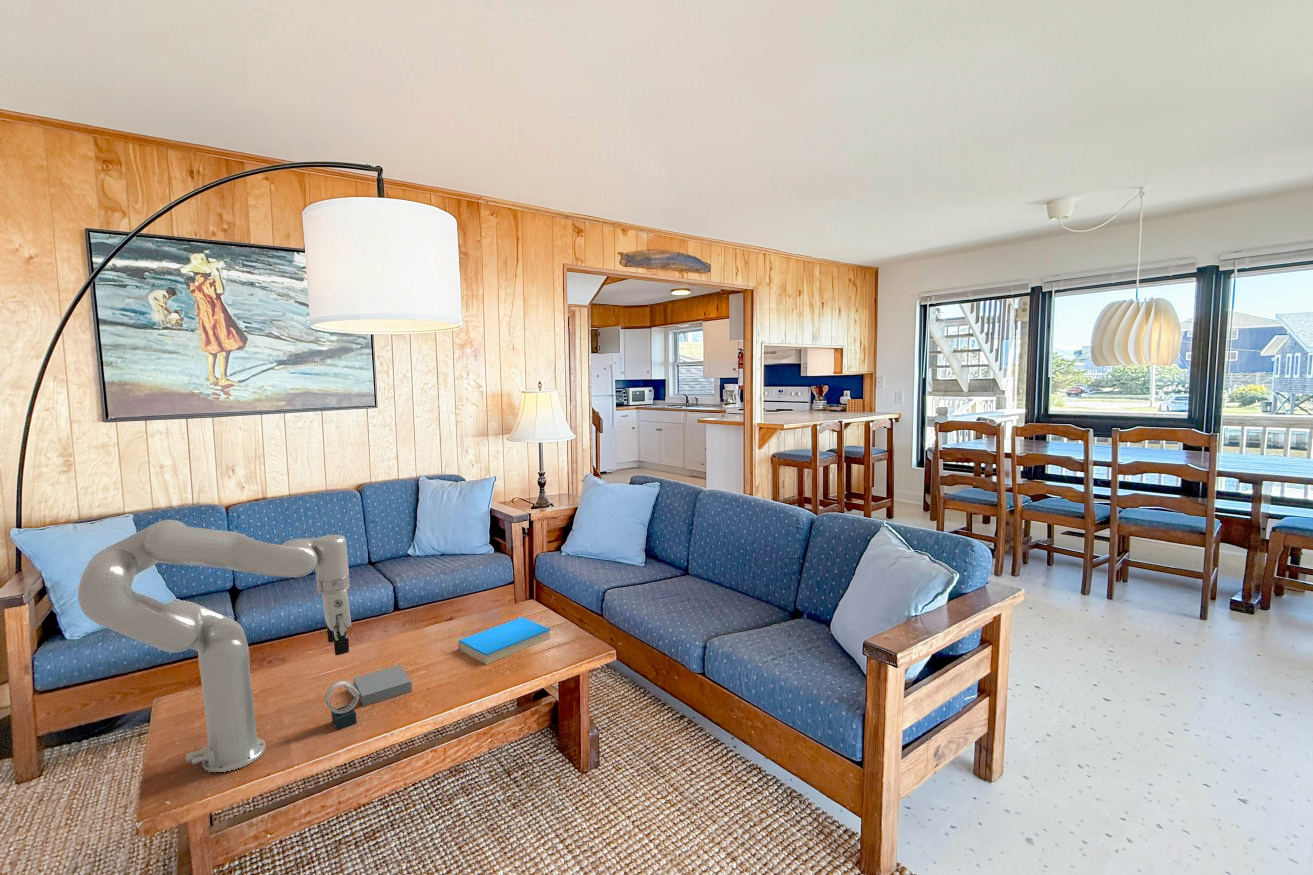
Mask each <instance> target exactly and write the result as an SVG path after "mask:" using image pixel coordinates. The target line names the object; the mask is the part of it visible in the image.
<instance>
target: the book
mask: <svg viewBox="0 0 1313 875" xmlns="http://www.w3.org/2000/svg"><path fill="white" fill-rule="evenodd" d="M550 639H551V628H550V627H547V626H545V625H542V624H540V623H537V622H535V621H533V620H531V619H528V618H525V617H523V616H522V617H518V618H516V619H514V620H511V621H508V622H506V623H505V622H504V623H502V624H499V625H496V626H494V627H490V628H488V629H486V630H482V631H481V632H480V631H479V632H477V633H475V634H472V635H469V636H466V637H464V638H461V639H458V649H459V651H460V652H463V653H464V654H466V655H468V656H470V657H472V658H473V659H475V660H476V661H479V662H480V663H481V664H482V663H483V664H484V665H488V664H491V663H493V662H496V661H499V660H501V659H504V658H506V657H508V655H509V656H511V655H513V654H516V653H518V652H520V651H523V650H525V649H527V648H530V646H531V647H532V646H535V645H537V644H540V643H542V642H545V641H548V640H550ZM503 657H504V658H503ZM498 659H499V660H498Z"/></svg>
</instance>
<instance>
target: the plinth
mask: <svg viewBox="0 0 1313 875" xmlns="http://www.w3.org/2000/svg"><path fill="white" fill-rule="evenodd" d="M402 667H403V666H401V665H400V664H398V665H395V666H391V667H388V668H385V669H381V670H376V671H374V672H371V673H367V674H363V675H359V676H356V677H353V679H352V682H353V686H354V687H355V688H356V689H357V690H358V692H359V693H360V694H358V695H359V701H360V704H361V705H362V707H366V706H370V705H373V704H377V703H380V702H382V701H386V700H389V699H393V698H395V697H398V696H403V695H405V694H408V693H412V692H413V686H412V685H413V684H412V680H411V679H410V677H409V676H408V674H407V672H406V671H405V670H404V669H403V668H402Z"/></svg>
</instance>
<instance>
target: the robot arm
mask: <svg viewBox="0 0 1313 875" xmlns="http://www.w3.org/2000/svg"><path fill="white" fill-rule="evenodd" d="M88 561H89V562H88V563H87V565H86V567H85V568H84V569H83V570H84V571H83V572H82V575H81V578H80V581H79V585H78V591H77V592H78V594H77V595H78V596H77V597H78V598H77V599H78V600H77V601H78V605H79V606H80V609H81V611H82V612H83V614H84V615H85V616H86V617H87V618H88V619H89V620H91V621H92V622H93V623H95V624H97V625H98V626H99V625H100V626H102V627H104V628H106V629H108V630H111V631H114V632H117V633H119V634H122V635H124V636H127V637H128V638H131V639H133V640H135V641H138V642H141V643H143V644H146V645H149V646H151V647H154V648H156V649H158V650H161V651H163V652H166V653H172V654H173V653H181V652H184V651H188V650H189V649H190V650H194V651H196V652H197V657H198V659H197V660H198V667H199V668H198V669H199V674H200V681H201V690H202V699H203V706H204V714H205V715H204V716H205V722H206V725H205V726H206V732H207V742H206V746H204V747H202V748H201V749H198V750H196V751H192V752H188V753H185V761H186V763H190V762H191V764H192V765H197V764H199V763H201V762H202V769H203V768H204V769H205V770H207V771H210V772H224V773H227V772H226V771H229V772H232V771H231V770H233V771H236V770H238V768H239V769H241V768H243V767H245V766H248V765H249V764H252V763H254V762H255V761H256V760H258V759H259V758H260V757H262V755H263V754H265V751H266V749H267V747H266V746H267V745H266V741H265V740H264V739H262V738H259V737H258V733H257V723H256V714H255V704H254V695H253V687H252V679H251V676H252V675H251V663H250V662H251V661H250V659H251V658H250V649H249V644H248V640H247V637H246V634H245V631H244V628H243V627H242V625H241V624H240V623H239V622H238V621H236V620H234V619H233V618H230V617H229V616H226V615H224V614H221V613H220V612H219V613H218V612H217V611H214V610H211V609H209V608H207V607H205V606H203V605H200V604H198V603H196V602H193V601H190V600H181V599H180V600H178V599H177V600H173V601H169V602H167V603H164V602H161V601H159V600H157V599H155V598H153V597H150V596H148V595H144V594H141V593H137V592H136V591H134V590H133V588H132V583H133V581H134V579H135V577H136V575H138V574H140V573H142V572H144V571H145V570H147V569H149V568H152V567H153V566H154V565H157V564H159V563H161V564H167V565H168V564H169V565H180V566H183V565H184V566H192V567H193V566H195V567H206V568H217V569H218V568H219V569H220V568H221V569H227V570H232V571H235V572H243V573H249V574H253V575H254V574H255V575H258V576H259V575H260V576H267V577H278V578H279V577H281V578H294V579H295V578H303V577H305V576H308V575H309V574H312V572H314V570H315V580H316V592H317V593H318V594H320V595H322V606H323V616H324V620H325V624H326V626H327V627H326V632H327V642H328V643H329V644H330V643H333V644H334V645H333V646H334V655H335V656H339V655H344V654H348V653H350V644H349V636H348V632H347V628H351V626H352V620H351V617H352V616H351V610H350V601H349V597H348V596H349V595H348V590H349V588H350V586H351V583H350V582H351V581H350V570H349V557H348V545H347V538H346V537H345V536H343V535H341V534H328V535H323V536H319V537H310V538H293V539H289V540H287V541H285V542H284V543H282V544H275V543H270V542H266V541H260V540H257V539H254V538H252V537H249V536H247V535H245V534H243V533H240V532H236V531H230V530H223V529H221V530H220V529H213V528H212V529H211V528H203V527H196V526H195V527H194V526H187V525H186V524H185V523H183V522H181V521H179V520H176V519H164V520H160V521H157V522H155V523H153V524H151V525H149V526H147V527H145V528H143V529H141V530H139V531H137V532H135V533H133V534H132V535H129V536H127V537H126V538H123V539H121V540H119V541H118V542H115V543H113V544H111V545H110V546H107V547H106V548H103V549H102V550H100V551H99V552H97V553H96V554H95V555H94V556H92V557H91V559H90V560H88ZM204 769H203V770H204ZM235 769H236V770H235ZM205 770H204V771H205ZM207 771H206V772H207ZM210 772H209V773H210Z"/></svg>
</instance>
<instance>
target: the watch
mask: <svg viewBox="0 0 1313 875" xmlns="http://www.w3.org/2000/svg"><path fill="white" fill-rule="evenodd" d="M342 686H344V688H345V689H346V690H347V691H348V692H349V693H350V694H351V695H352V696H353V699H352V701H351V702H350V704H346V705H343V706H340V707H338V708H336V707H335V706H333V705H332V704H331V701H330V697H331V695H332V694H333V692H334V691H335V690H336V689H338V688H340V687H342ZM358 694H360V693H359V692H358V690H357V689H356V688H355V687H354V684H352V683H351V682H350V681H349V680H346V681H345V680H340V681H337V682H335V683H333V684H331V686H330V687H329V688H328V689H327V692H326V693H325V696H324V700H325V701H324V702H325V704H326V706H327V708H329V709H330V710H331V713H330V714H331V721H332V724H333V725H334V726H335V727H336V729H337V730H339V731H340V730H344V729H347V728H349V727H350V726H353V725H356V724H357V712H356V711H355V709H354V708H355V707H356V705H357V703H358V701H360V699H359V695H358Z"/></svg>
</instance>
